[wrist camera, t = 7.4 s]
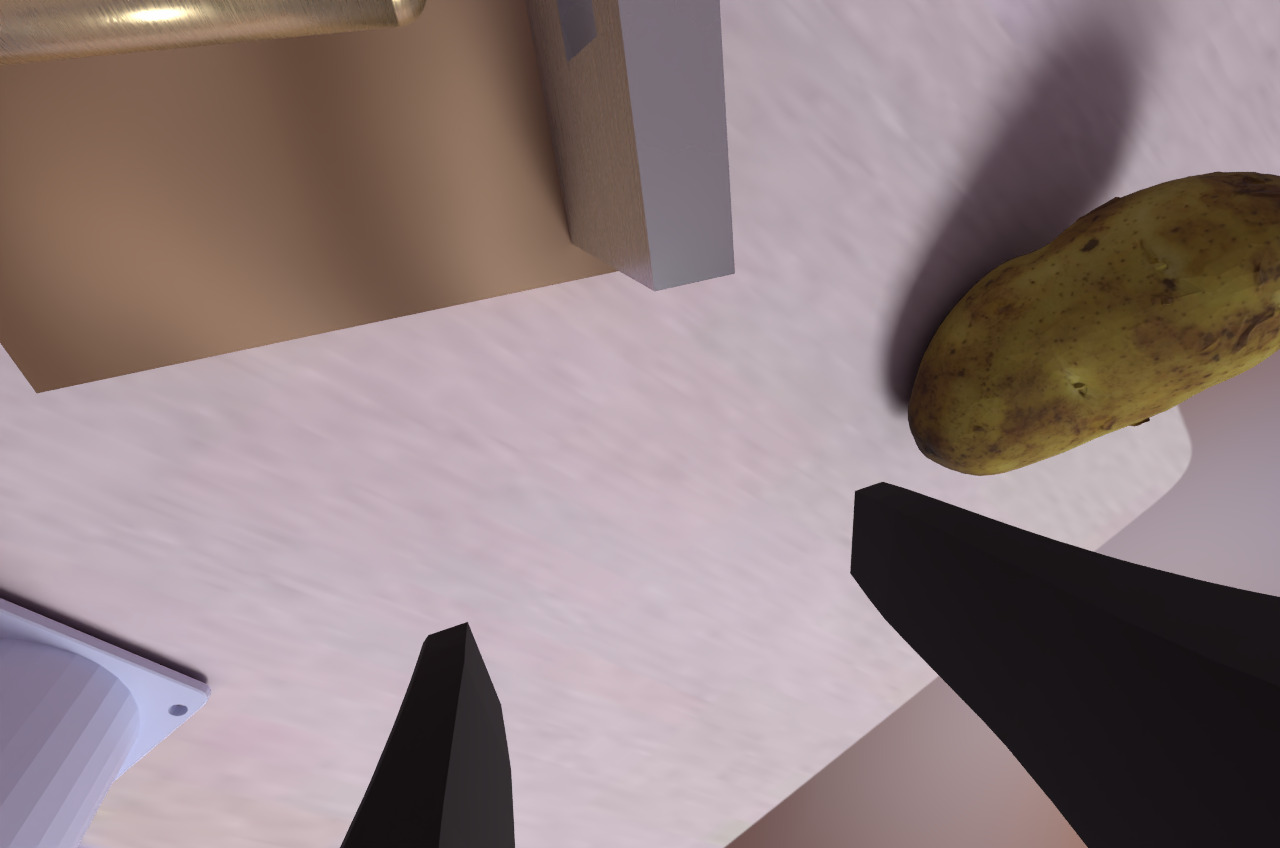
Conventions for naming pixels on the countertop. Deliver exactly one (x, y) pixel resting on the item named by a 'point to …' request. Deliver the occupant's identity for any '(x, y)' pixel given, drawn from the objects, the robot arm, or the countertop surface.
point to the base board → (272, 190)
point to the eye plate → (639, 133)
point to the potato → (1105, 324)
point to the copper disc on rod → (178, 24)
